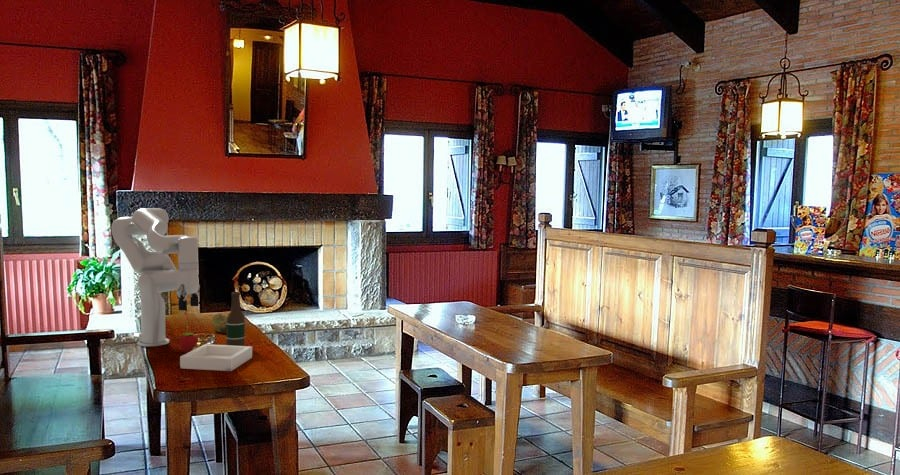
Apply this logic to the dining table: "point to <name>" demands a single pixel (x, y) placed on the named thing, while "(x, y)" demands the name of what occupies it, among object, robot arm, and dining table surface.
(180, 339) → the strawberry
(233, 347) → the tray
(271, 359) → the dining table surface
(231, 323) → the beer bottle
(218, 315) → the potato
